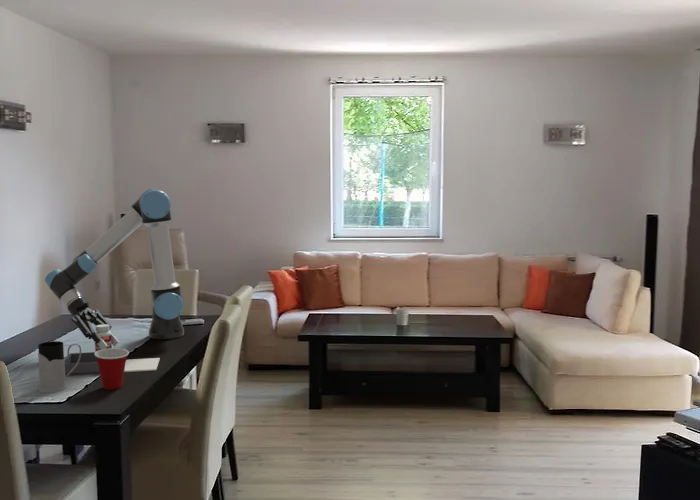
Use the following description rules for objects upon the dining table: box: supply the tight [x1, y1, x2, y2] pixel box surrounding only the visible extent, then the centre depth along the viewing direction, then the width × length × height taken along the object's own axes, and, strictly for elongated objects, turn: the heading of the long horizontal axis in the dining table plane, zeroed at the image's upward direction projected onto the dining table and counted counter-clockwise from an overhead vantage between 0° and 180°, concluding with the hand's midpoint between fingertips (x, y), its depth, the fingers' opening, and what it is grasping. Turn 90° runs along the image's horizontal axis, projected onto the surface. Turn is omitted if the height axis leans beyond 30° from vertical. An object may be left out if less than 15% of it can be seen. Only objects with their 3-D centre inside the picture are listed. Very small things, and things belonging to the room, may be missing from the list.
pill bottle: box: [94, 324, 113, 352], centre depth 269 cm, size 6×6×11 cm
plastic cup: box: [94, 347, 130, 391], centre depth 226 cm, size 11×11×12 cm
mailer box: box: [65, 351, 161, 376], centre depth 251 cm, size 32×16×4 cm, turn 101°
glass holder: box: [37, 340, 82, 394], centre depth 226 cm, size 9×14×15 cm, turn 134°
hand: (111, 346), depth 268 cm, fingers closed on pill bottle, 6 cm apart
